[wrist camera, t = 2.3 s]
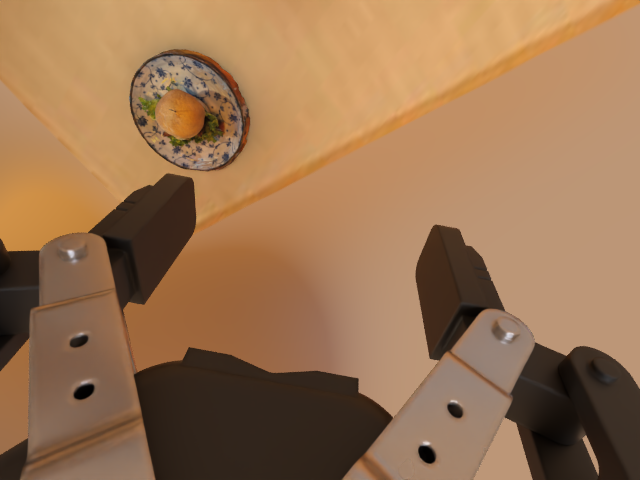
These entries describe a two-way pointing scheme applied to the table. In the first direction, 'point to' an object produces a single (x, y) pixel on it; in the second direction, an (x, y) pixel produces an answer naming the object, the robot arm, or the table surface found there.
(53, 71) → the table surface
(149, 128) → the floral plate with food
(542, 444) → the robot arm
